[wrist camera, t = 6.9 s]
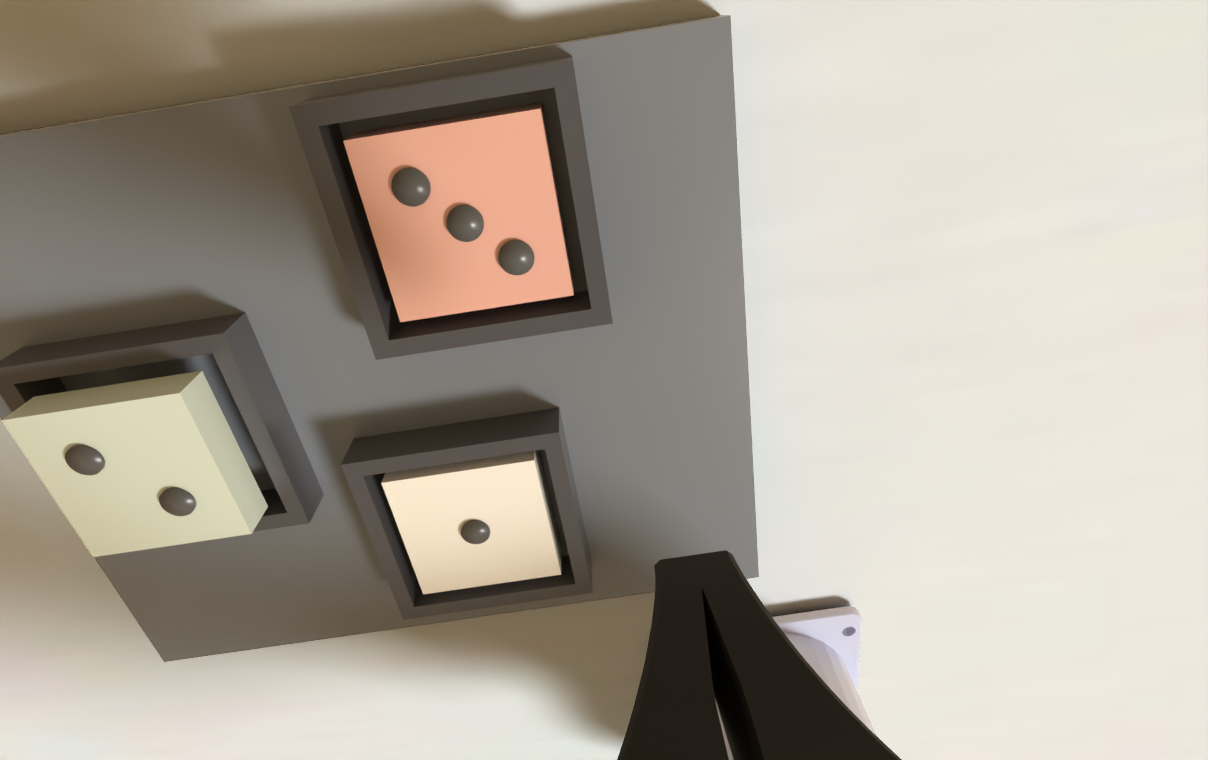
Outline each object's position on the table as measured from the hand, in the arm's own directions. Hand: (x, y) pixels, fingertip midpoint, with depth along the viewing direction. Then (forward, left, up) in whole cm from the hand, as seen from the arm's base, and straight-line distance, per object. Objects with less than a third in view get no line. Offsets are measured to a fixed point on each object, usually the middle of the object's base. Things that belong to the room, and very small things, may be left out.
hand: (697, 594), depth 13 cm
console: (0, +8, -10) cm, 13 cm away
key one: (-4, +6, -9) cm, 11 cm away
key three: (+5, +4, -9) cm, 11 cm away
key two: (+1, +14, -7) cm, 16 cm away
